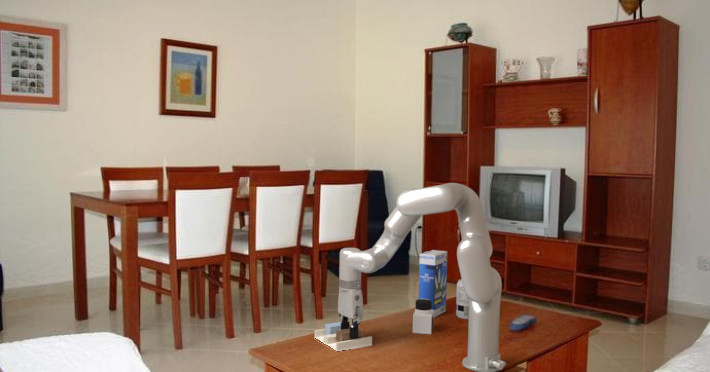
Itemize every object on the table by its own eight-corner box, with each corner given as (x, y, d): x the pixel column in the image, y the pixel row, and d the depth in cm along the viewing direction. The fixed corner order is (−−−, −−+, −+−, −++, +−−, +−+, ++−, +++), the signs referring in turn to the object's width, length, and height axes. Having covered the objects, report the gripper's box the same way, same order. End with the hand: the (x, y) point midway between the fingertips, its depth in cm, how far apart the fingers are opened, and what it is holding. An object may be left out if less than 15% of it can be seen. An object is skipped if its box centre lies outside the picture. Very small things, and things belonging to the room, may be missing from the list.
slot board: (372, 345, 206) (372, 337, 206) (337, 352, 199) (337, 343, 198) (347, 332, 220) (348, 325, 219) (314, 338, 212) (314, 330, 212)
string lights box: (433, 318, 241) (435, 255, 240) (416, 315, 245) (418, 253, 244) (446, 311, 252) (448, 251, 251) (430, 308, 256) (431, 249, 255)
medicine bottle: (431, 334, 219) (432, 302, 219) (412, 333, 221) (413, 301, 220) (433, 329, 226) (433, 298, 226) (414, 327, 228) (415, 297, 227)
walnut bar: (361, 343, 206) (361, 330, 205) (341, 346, 201) (342, 333, 201) (355, 340, 209) (355, 327, 209) (335, 343, 205) (336, 330, 204)
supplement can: (452, 314, 247) (453, 279, 246) (470, 313, 249) (471, 278, 248) (461, 320, 239) (462, 283, 238) (479, 318, 241) (480, 282, 241)
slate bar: (349, 336, 213) (349, 324, 213) (330, 339, 209) (330, 327, 209) (343, 333, 217) (344, 321, 216) (324, 336, 212) (324, 324, 212)
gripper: (372, 287, 199) (371, 341, 200) (346, 278, 213) (345, 327, 214) (353, 290, 195) (352, 344, 196) (328, 280, 209) (327, 330, 211)
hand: (349, 335), depth 205 cm, fingers open, 5 cm apart
